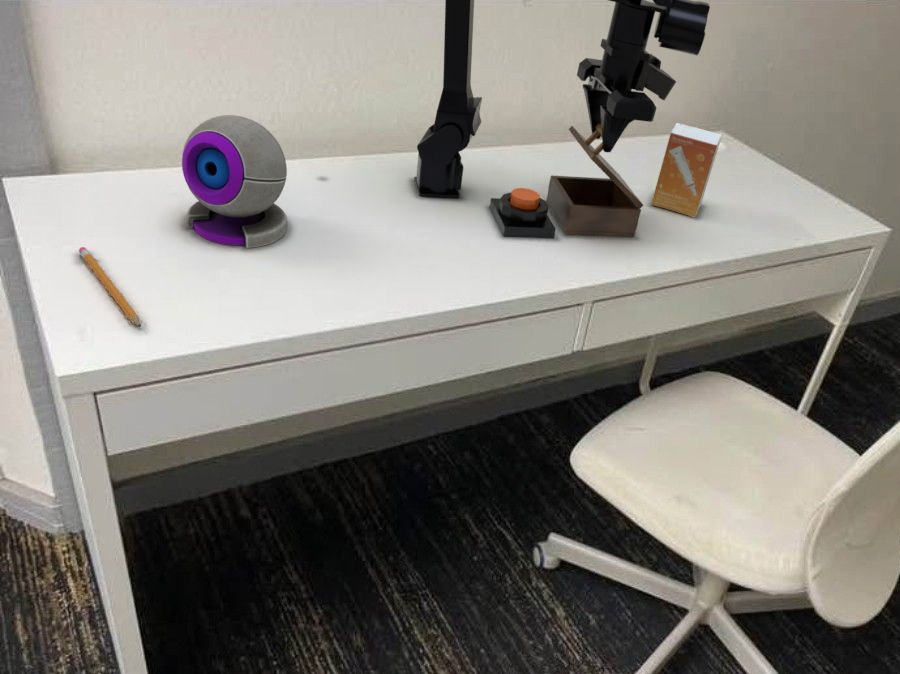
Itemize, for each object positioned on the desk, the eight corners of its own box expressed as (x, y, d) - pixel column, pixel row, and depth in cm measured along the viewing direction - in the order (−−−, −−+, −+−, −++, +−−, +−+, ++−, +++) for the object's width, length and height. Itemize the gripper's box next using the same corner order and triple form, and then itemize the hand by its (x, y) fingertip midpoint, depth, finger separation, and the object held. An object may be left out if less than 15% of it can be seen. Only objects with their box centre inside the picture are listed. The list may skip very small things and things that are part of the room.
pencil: (76, 252, 104) (134, 329, 94) (80, 245, 104) (138, 321, 93) (84, 254, 105) (142, 331, 94) (88, 247, 105) (146, 323, 94)
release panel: (553, 238, 130) (557, 217, 128) (503, 237, 128) (506, 215, 126) (537, 209, 138) (540, 189, 135) (489, 207, 135) (492, 187, 133)
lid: (590, 158, 125) (613, 135, 123) (568, 129, 133) (589, 107, 132) (639, 209, 132) (662, 187, 131) (615, 178, 141) (636, 158, 139)
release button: (541, 211, 130) (543, 200, 129) (513, 210, 128) (515, 199, 127) (534, 198, 133) (535, 188, 132) (506, 197, 132) (508, 187, 131)
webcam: (167, 228, 113) (155, 117, 104) (227, 196, 123) (221, 92, 114) (251, 257, 111) (246, 146, 102) (305, 222, 121) (305, 118, 112)
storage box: (565, 235, 132) (571, 206, 129) (545, 202, 140) (550, 175, 137) (634, 237, 135) (641, 210, 132) (610, 205, 144) (617, 179, 141)
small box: (650, 205, 147) (669, 131, 139) (657, 193, 152) (676, 121, 144) (696, 218, 145) (717, 144, 138) (701, 205, 150) (722, 133, 143)
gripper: (703, 66, 117) (671, 174, 126) (655, 28, 131) (629, 127, 140) (629, 56, 113) (601, 168, 122) (587, 18, 127) (565, 120, 136)
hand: (601, 145), depth 130 cm, fingers closed on lid, 5 cm apart
